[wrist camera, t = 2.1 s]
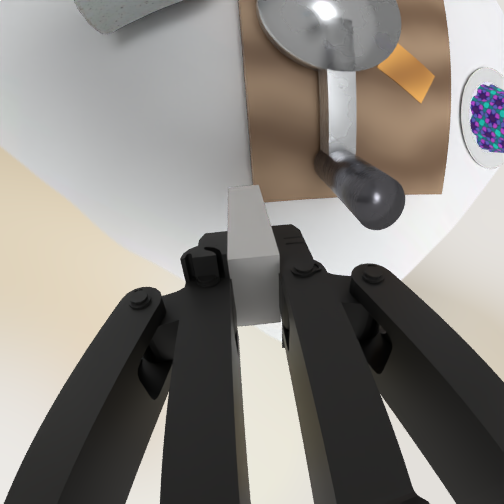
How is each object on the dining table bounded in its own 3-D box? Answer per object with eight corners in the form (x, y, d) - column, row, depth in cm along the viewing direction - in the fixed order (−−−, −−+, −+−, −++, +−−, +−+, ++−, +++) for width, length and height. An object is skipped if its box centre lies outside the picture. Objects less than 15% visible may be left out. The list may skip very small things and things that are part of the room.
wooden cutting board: (234, -48, 12) (234, -59, 11) (427, -17, 13) (439, -20, 11) (253, 194, 24) (255, 203, 22) (430, 186, 24) (442, 194, 23)
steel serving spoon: (250, -44, 11) (262, -100, 4) (380, -28, 12) (438, -57, 5) (268, 186, 21) (288, 238, 14) (387, 180, 21) (444, 224, 15)
